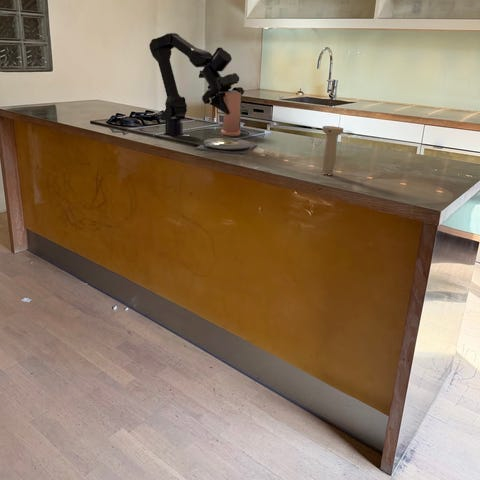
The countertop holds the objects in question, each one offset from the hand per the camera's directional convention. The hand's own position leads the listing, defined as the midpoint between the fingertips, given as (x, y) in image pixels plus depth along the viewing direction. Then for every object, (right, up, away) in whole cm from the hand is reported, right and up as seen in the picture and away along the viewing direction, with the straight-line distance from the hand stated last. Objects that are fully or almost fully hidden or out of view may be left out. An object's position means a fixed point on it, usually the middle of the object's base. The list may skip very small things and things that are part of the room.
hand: (234, 113), depth 183 cm
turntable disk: (-3, -12, +5) cm, 13 cm away
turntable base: (-3, -12, +5) cm, 13 cm away
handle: (+30, -27, -27) cm, 49 cm away
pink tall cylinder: (-1, -7, +4) cm, 8 cm away
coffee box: (-2, -1, +33) cm, 33 cm away
